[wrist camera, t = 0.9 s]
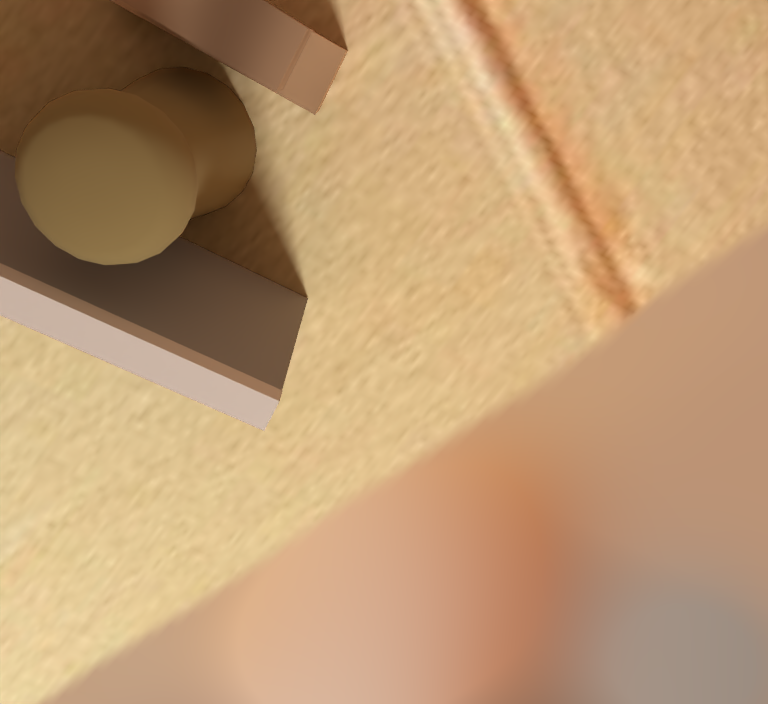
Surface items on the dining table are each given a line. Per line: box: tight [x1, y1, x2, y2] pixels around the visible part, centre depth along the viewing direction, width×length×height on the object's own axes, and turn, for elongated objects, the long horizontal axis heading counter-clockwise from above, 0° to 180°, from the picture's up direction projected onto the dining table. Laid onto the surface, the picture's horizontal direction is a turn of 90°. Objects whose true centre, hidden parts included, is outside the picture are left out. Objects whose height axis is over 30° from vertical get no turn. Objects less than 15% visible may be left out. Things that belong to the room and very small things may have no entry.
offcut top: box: [122, 0, 313, 93], centre depth 26 cm, size 6×2×2 cm, turn 60°
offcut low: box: [110, 0, 347, 114], centre depth 28 cm, size 9×3×2 cm, turn 62°
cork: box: [15, 67, 257, 265], centre depth 26 cm, size 6×6×11 cm
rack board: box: [0, 151, 308, 431], centre depth 27 cm, size 15×1×11 cm, turn 63°
